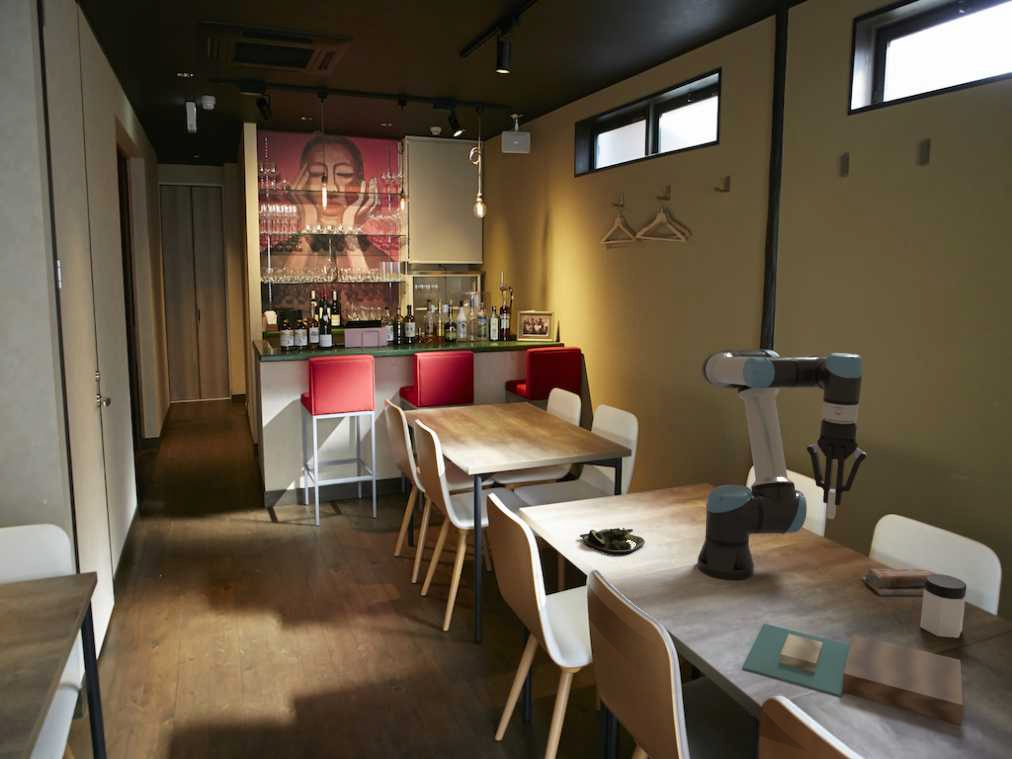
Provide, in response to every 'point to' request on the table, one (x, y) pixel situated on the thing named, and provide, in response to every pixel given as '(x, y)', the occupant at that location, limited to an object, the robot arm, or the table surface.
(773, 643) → the teal mat
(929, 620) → the jar
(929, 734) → the table surface
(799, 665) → the maple tile
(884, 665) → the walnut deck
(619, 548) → the salad plate
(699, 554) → the robot arm
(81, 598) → the table surface
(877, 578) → the packaged product
